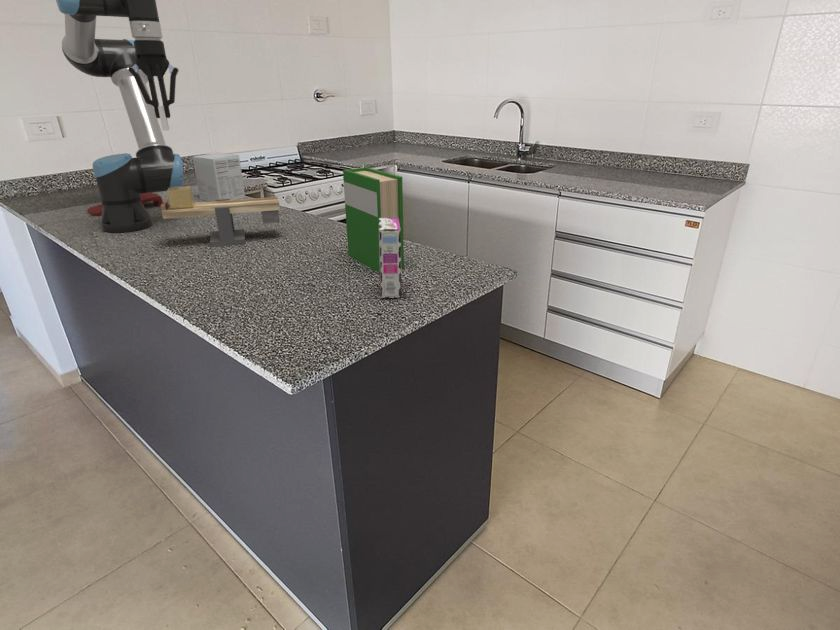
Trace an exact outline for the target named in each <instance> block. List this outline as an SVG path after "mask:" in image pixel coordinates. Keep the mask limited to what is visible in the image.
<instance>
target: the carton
mask: <svg viewBox="0 0 840 630" xmlns="http://www.w3.org/2000/svg"><path fill="white" fill-rule="evenodd" d="M140 197H141V202H142V204H143V205H144V204H147V203H150V202H152V203H153V204H154V203H155V204H154V205H156V206H158V207H161V205H162V203H163V201H164V200H163V198H162V196H161V195H159V194H157V192H151V193H142V194H140ZM102 208H103V206H102V203H101V204H97V205H94V206H91V207H89V208H87V209H86V210H87V212H88V214H89V215H91V217H102Z"/></svg>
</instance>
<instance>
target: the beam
mask: <svg viewBox="0 0 840 630" xmlns="http://www.w3.org/2000/svg"><path fill="white" fill-rule="evenodd" d="M194 205H195V206H194V208H191V209H177V210H171V207H170V203H169V200H163V203H162V205H161V206H160V207H161V215H162V219H163V220H164V219H165V220H166V219H178V218H190V217H191V218H193V217H206V216H216V214H215V208H216V207H229V209H230V214H232V215H233V214H244V213H245V214H246V213H247V214H248V213H258V212H261V218H262V224H263V225H266V224H275V223H280V214H279V213H280V212H279V210H281V207H280V202H279V197H278V196H271V197H260V198H259V197H258V198H257V197H256V198H241V199H237V200H226V201H212V202H210V201H201V202H199V201H198V202H194Z"/></svg>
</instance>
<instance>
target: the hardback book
mask: <svg viewBox="0 0 840 630" xmlns="http://www.w3.org/2000/svg"><path fill="white" fill-rule="evenodd" d="M342 177H343V194H344V207H345V221H346V223H345V224H346V239H347V256H348V257H349V256H350V257H351V258H350V257H349V258H350V259H352V258H353V259H352V260H354V259H355V260H354V261H356V260H357V261H359V262H360V263H359V262H358V263H359V264H361V263H362V264H361V265H363V264H364V265H366V266H368V267H370V268H371V269H370V268H369V269H370V270H372V269H373V270H375V271H377V272H379V273H380V257H379V218H398V219H399V224H400V229H401V268H404V269H405V259H404V258H405V256H404V253H405V250H404V202H403V201H404V197H403V195H404V194H403V176H402V175H398V174H393V173H389V172H386V171H383V170H382V171H381V170H380V169H379V170H378V169H374V168H372V167H359V168H351V169H349V168H348V169H342ZM357 261H356V262H357ZM364 265H363V266H364ZM366 266H365V267H366ZM368 267H367V268H368ZM373 270H372V271H373ZM375 271H374V272H375ZM377 272H376V273H377ZM379 273H378V274H379Z"/></svg>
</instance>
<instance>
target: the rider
mask: <svg viewBox="0 0 840 630" xmlns="http://www.w3.org/2000/svg"><path fill="white" fill-rule="evenodd" d="M166 192H167V196H168V203H169V204H170V207H171V210H177V209H191V208H194V206H195V205H194V203H195V201H194V195H193V190H192V186H191V185H186V186H183V185H182V187H169V188H168V190H167V191H166Z"/></svg>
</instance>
